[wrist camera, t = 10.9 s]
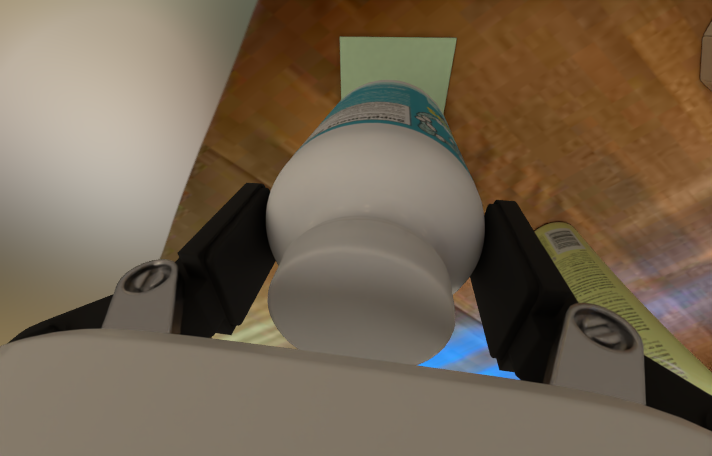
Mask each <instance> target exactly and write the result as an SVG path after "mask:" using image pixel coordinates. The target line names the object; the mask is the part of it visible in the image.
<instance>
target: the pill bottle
mask: <svg viewBox="0 0 712 456" xmlns="http://www.w3.org/2000/svg"><path fill="white" fill-rule="evenodd" d="M266 232H267V237H268V241H269V245H270V248H271V251H272V254H273V256H274V258H275V260H276V262H277V264H278V265H279V267H278V269H277V271H276V273H275V275H274V277H273V279H272V281H271V284H270V287H269V291H268V308H269V312H270V315H271V318H272V320H273V322H274V324H275V326H276V327H277V329H278V330H279V331H280V333H281V334H282V335H283V336H284V337H285V338H286V339H287V340H288V341H289V342H290V343H291V344H292V345H294V346H295V347H296V348H297V349H299V350H304V351H312V352H320V353H327V354H335V355H342V356H350V357H357V358H364V359H372V360H379V361H387V362H394V363H402V364H409V365H418V364H421V363H423V362H425V361H427V360H429V359H430V358H432V357H433V356H435V355H436V354H437V353H439V352H440V351H441V350H442V349H443V348H444V347H445V346H446V344H447V343H448V341H449V340H450V337H451V335H452V333H453V331H454V326H455V308H454V301H453V294H454V293H455V292H456V291H458V290H459V289H460V288H461V286H462V285H463V284H464V283H465V282H466V281H467V279H468V278H469V277H470V275H471V274H472V272H473V271H474V269H475V267H476V265H477V263H478V261H479V259H480V256H481V253H482V249H483V244H484V236H485V219H484V212H483V207H482V202H481V199H480V196H479V194H478V191H477V189H476V186H475V184H474V182H473V179H472V177H471V175H470V173H469V171H468V168H467V166H466V164H465V162H464V160H463V158H462V155H461V153H460V151H459V149H458V147H457V144H456V142H455V140H454V138H453V136H452V133H451V131H450V129H449V126H448V124H447V122H446V120H445V117H444V115H443V113H442V111H441V110H440V108H439V107H438V105H437V104H436V103H435V101H434V100H433V99H432V98H431V97H430V96H429V95H428V94H426V93H425V92H424V91H423V90H421V89H419V88H418V87H416V86H414V85H411V84H409V83H406V82H402V81H397V80H379V81H373V82H369V83H367V84H364V85H362V86H360V87H358V88H356V89H354V90H353V91H351V92H350V93H349V94H347V95H346V96H345V97H344V98H343V99H342V100H341V101H340V102H339V103H338V104H337V105H336V107H335V108H334V109H333V110H332V111H331V112H330V113H329V115H328V116H327V117H326V118H325V119H324V121H323V122H322V123H321V124H320V125H319V126H318V128H317V129H316V130H315V131H314V132H313V133H312V134H311V136H310V137H309V138H308V139H307V140H306V142H305V143H304V144H303V145H302V146H301V147H300V148H299V150H298V151H297V152H296V153H295V154H294V156H293V157H292V158H291V159H290V160H289V162H288V163H287V164H286V165H285V166H284V168H283V169H282V171H281V172H280V173H279V175H278V177H277V179H276V181H275V182H274V184H273V187H272V189H271V192H270V195H269V198H268V202H267V208H266Z"/></svg>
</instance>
